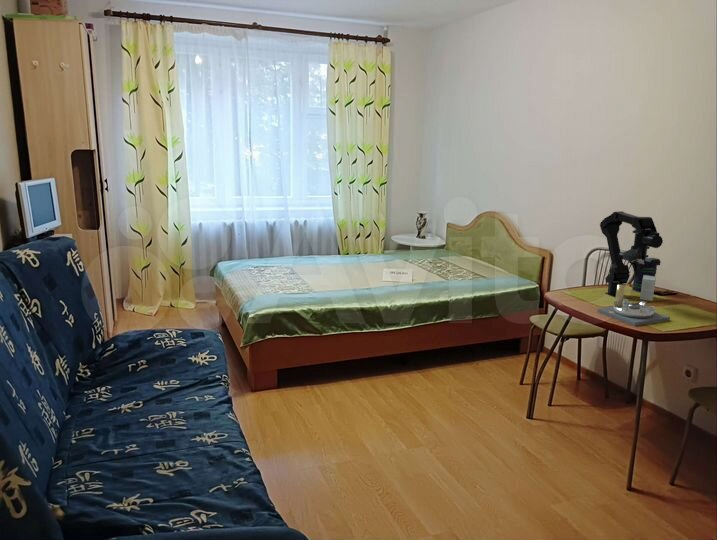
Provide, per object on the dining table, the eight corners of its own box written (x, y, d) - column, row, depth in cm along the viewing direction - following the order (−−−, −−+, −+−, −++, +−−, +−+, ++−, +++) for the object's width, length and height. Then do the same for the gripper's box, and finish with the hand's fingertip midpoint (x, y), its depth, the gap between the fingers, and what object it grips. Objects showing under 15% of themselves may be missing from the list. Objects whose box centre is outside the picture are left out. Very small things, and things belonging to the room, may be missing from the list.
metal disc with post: (612, 314, 227) (615, 287, 224) (613, 305, 241) (616, 279, 238) (654, 320, 220) (658, 292, 217) (653, 310, 234) (657, 283, 231)
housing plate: (597, 312, 236) (597, 308, 236) (631, 307, 243) (631, 303, 243) (634, 326, 218) (634, 322, 218) (669, 320, 225) (670, 316, 225)
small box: (640, 295, 262) (643, 275, 260) (653, 297, 260) (656, 276, 257) (639, 299, 256) (642, 278, 253) (652, 301, 253) (655, 279, 250)
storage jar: (658, 292, 267) (662, 263, 264) (641, 293, 265) (645, 264, 262) (643, 287, 277) (647, 259, 273) (627, 288, 275) (631, 260, 271)
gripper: (611, 241, 249) (607, 273, 252) (644, 248, 232) (640, 282, 235) (629, 240, 252) (625, 271, 256) (663, 247, 235) (658, 280, 239)
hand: (636, 276), depth 247 cm, fingers closed
